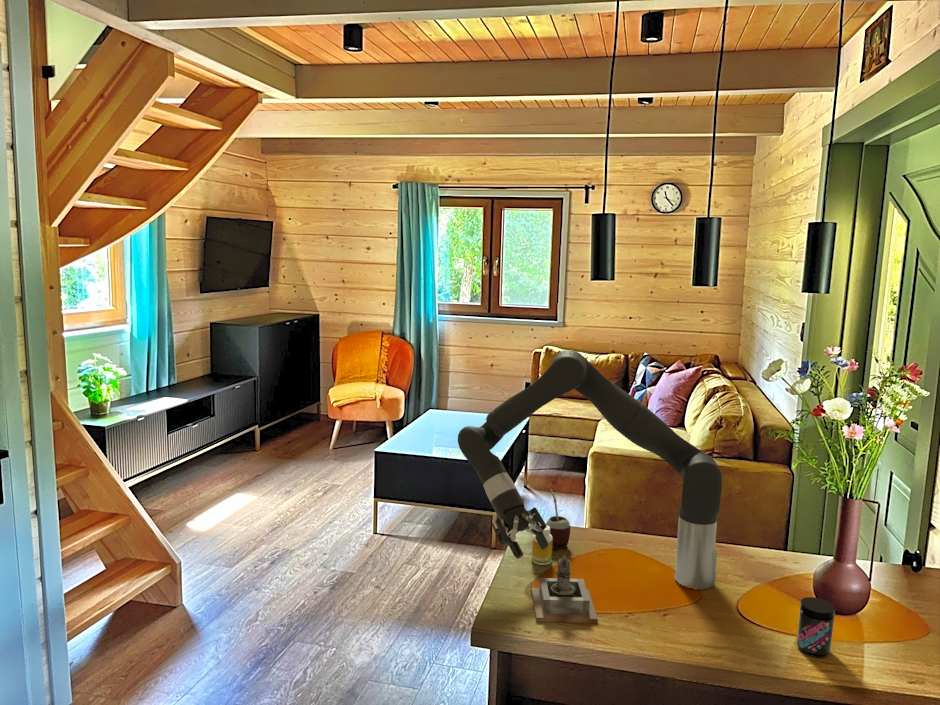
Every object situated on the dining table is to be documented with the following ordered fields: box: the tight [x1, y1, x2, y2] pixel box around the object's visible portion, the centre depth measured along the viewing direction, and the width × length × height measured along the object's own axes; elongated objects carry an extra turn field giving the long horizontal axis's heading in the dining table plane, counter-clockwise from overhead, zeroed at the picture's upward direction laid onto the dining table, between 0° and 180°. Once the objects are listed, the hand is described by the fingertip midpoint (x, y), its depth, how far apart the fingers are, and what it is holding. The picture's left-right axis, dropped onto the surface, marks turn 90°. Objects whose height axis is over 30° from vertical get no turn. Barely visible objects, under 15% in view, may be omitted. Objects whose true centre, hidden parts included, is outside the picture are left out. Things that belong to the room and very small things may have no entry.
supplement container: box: [796, 596, 836, 658], centre depth 155 cm, size 7×7×10 cm
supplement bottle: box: [531, 525, 553, 566], centre depth 195 cm, size 5×5×10 cm
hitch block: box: [531, 577, 599, 624], centre depth 172 cm, size 14×14×4 cm
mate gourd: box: [545, 488, 571, 551], centre depth 205 cm, size 8×8×15 cm
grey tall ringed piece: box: [551, 554, 576, 597], centre depth 171 cm, size 6×6×12 cm
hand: (533, 552), depth 179 cm, fingers open, 8 cm apart
